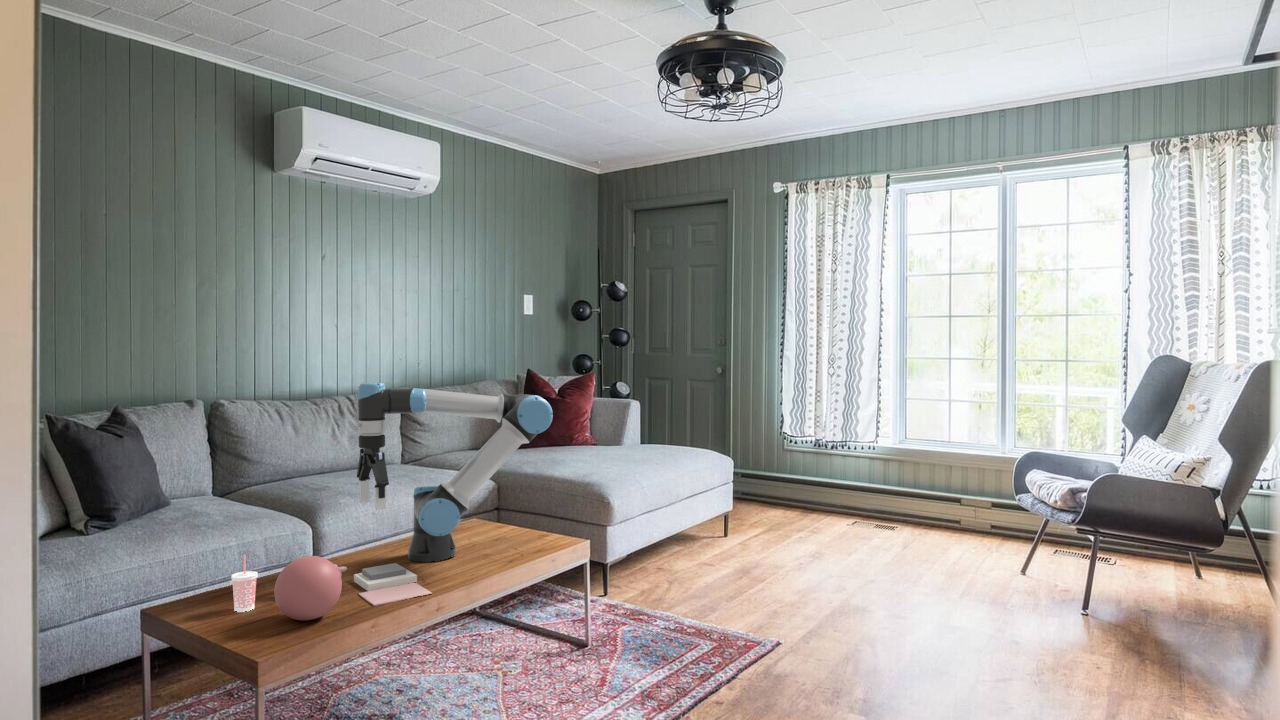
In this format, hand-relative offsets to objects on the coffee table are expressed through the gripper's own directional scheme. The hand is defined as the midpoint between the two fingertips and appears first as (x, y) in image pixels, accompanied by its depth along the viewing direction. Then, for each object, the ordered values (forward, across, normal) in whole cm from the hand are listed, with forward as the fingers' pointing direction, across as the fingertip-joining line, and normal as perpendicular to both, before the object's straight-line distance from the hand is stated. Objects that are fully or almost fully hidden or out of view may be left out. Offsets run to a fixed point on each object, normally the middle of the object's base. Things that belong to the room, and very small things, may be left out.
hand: (372, 505), depth 226 cm
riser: (+20, +11, 0) cm, 23 cm away
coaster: (+18, +10, 0) cm, 21 cm away
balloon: (+20, +28, -24) cm, 42 cm away
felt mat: (+20, +24, -2) cm, 31 cm away
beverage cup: (+20, +11, -37) cm, 44 cm away
